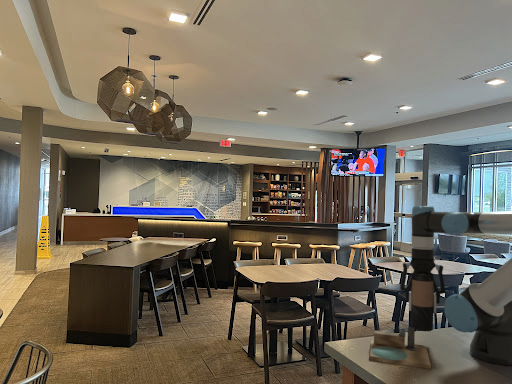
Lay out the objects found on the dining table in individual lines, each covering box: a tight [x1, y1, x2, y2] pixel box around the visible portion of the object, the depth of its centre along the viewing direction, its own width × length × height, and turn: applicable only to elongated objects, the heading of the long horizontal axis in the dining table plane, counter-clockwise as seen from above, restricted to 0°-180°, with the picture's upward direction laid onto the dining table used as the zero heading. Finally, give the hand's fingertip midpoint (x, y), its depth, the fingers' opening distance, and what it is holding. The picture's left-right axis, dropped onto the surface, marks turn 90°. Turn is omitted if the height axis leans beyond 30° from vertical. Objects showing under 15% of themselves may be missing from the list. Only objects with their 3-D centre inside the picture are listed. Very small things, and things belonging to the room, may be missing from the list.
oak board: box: [369, 326, 432, 370], centre depth 132 cm, size 18×16×8 cm
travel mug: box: [410, 272, 435, 332], centre depth 144 cm, size 8×8×20 cm
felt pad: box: [372, 347, 407, 360], centre depth 130 cm, size 11×11×1 cm
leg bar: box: [373, 330, 406, 348], centre depth 137 cm, size 10×3×4 cm, turn 69°
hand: (422, 311), depth 144 cm, fingers closed on travel mug, 8 cm apart
